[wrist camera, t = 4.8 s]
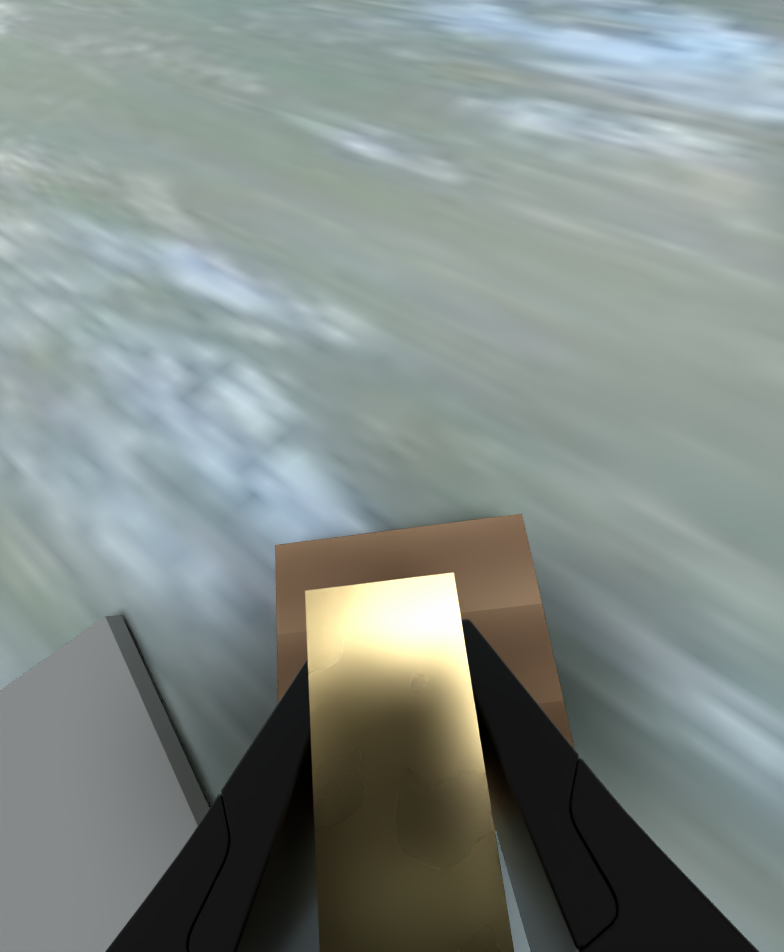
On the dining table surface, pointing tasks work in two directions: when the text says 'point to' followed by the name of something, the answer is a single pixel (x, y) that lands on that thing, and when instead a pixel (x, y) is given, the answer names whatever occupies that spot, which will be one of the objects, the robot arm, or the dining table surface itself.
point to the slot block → (423, 554)
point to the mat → (87, 795)
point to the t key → (399, 774)
